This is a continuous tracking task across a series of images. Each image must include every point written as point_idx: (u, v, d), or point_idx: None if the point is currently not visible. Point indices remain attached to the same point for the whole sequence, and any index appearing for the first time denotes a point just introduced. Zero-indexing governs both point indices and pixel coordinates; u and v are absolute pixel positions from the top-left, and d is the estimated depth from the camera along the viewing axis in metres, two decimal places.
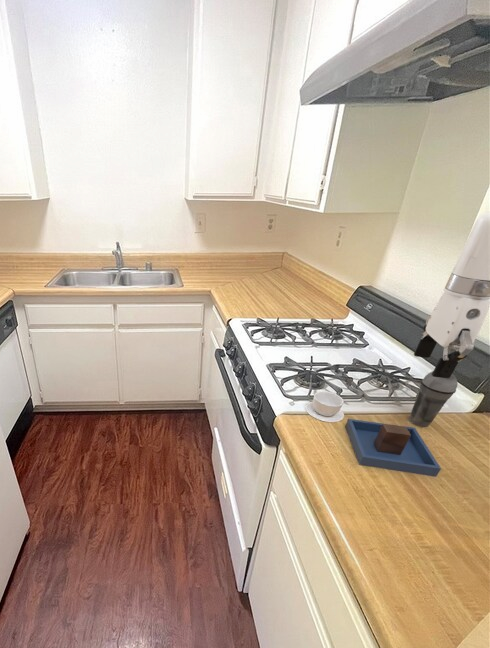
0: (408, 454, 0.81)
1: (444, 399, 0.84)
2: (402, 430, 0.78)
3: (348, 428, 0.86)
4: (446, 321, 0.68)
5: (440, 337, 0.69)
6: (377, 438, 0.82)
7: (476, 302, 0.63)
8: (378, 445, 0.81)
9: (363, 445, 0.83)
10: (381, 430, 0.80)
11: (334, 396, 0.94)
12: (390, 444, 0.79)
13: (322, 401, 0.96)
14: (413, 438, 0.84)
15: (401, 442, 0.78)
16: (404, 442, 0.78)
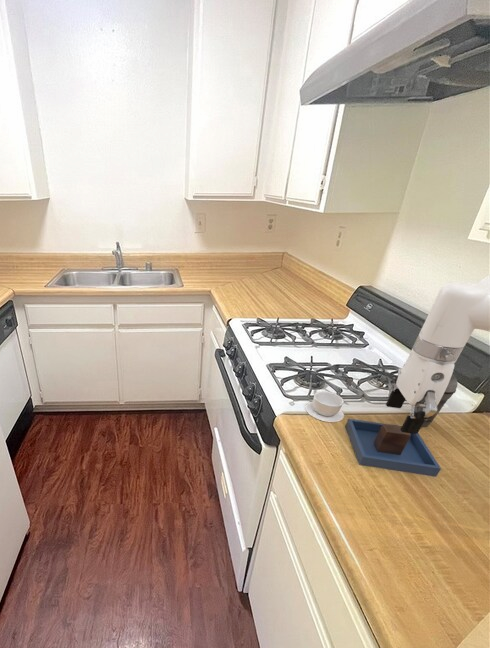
0: (408, 454, 0.81)
1: (444, 399, 0.84)
2: None
3: (348, 428, 0.86)
4: (413, 381, 0.70)
5: (408, 395, 0.71)
6: (377, 438, 0.82)
7: (440, 366, 0.65)
8: (378, 445, 0.81)
9: (363, 445, 0.83)
10: (381, 430, 0.80)
11: (334, 396, 0.94)
12: (390, 444, 0.79)
13: (322, 401, 0.96)
14: (413, 438, 0.84)
15: (401, 442, 0.78)
16: (404, 442, 0.78)
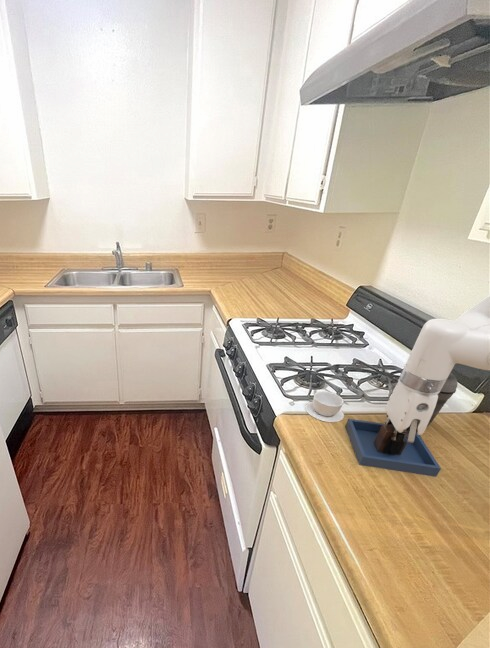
0: (408, 454, 0.81)
1: (444, 399, 0.84)
2: None
3: (348, 428, 0.86)
4: (400, 409, 0.73)
5: (395, 422, 0.75)
6: (377, 438, 0.82)
7: (425, 397, 0.69)
8: (378, 445, 0.81)
9: (363, 445, 0.83)
10: (381, 430, 0.80)
11: (334, 396, 0.94)
12: None
13: (322, 401, 0.96)
14: None
15: None
16: None
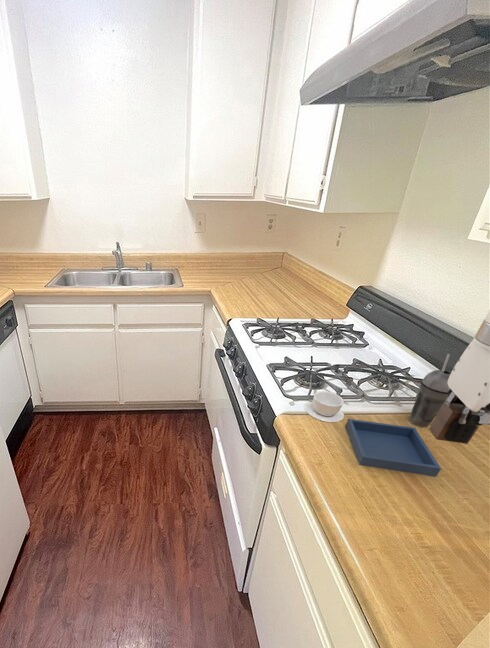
0: (408, 454, 0.81)
1: (444, 399, 0.84)
2: None
3: (348, 428, 0.86)
4: (476, 380, 0.54)
5: (468, 398, 0.55)
6: (435, 422, 0.62)
7: None
8: (438, 431, 0.61)
9: (363, 445, 0.83)
10: (442, 411, 0.61)
11: (334, 396, 0.94)
12: None
13: (322, 401, 0.96)
14: (413, 438, 0.84)
15: None
16: None
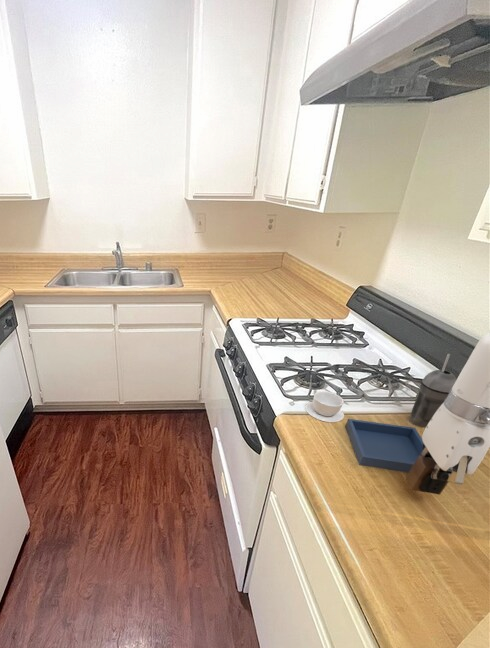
0: (408, 454, 0.81)
1: (444, 399, 0.84)
2: None
3: (348, 428, 0.86)
4: (445, 442, 0.59)
5: (438, 457, 0.61)
6: (411, 473, 0.68)
7: (480, 429, 0.55)
8: (413, 482, 0.66)
9: (363, 445, 0.83)
10: (416, 464, 0.66)
11: (334, 396, 0.94)
12: None
13: (322, 401, 0.96)
14: (413, 438, 0.84)
15: None
16: None
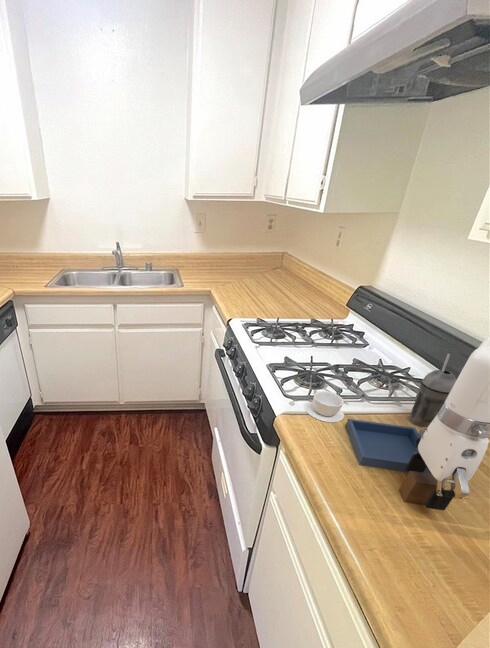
0: (408, 454, 0.81)
1: (444, 399, 0.84)
2: (434, 480, 0.66)
3: (348, 428, 0.86)
4: (439, 453, 0.61)
5: (433, 468, 0.62)
6: (403, 487, 0.70)
7: (472, 442, 0.56)
8: (404, 496, 0.69)
9: (363, 445, 0.83)
10: (408, 478, 0.68)
11: (334, 396, 0.94)
12: (419, 496, 0.67)
13: (322, 401, 0.96)
14: (413, 438, 0.84)
15: None
16: None
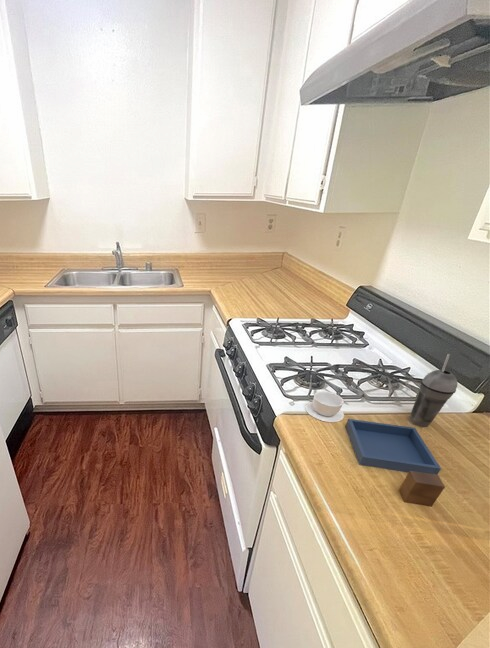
0: (408, 454, 0.81)
1: (444, 399, 0.84)
2: (434, 480, 0.66)
3: (348, 428, 0.86)
4: None
5: None
6: (403, 487, 0.70)
7: None
8: (404, 496, 0.69)
9: (363, 445, 0.83)
10: (408, 478, 0.68)
11: (334, 396, 0.94)
12: (419, 496, 0.67)
13: (322, 401, 0.96)
14: (413, 438, 0.84)
15: (432, 494, 0.66)
16: (436, 494, 0.66)
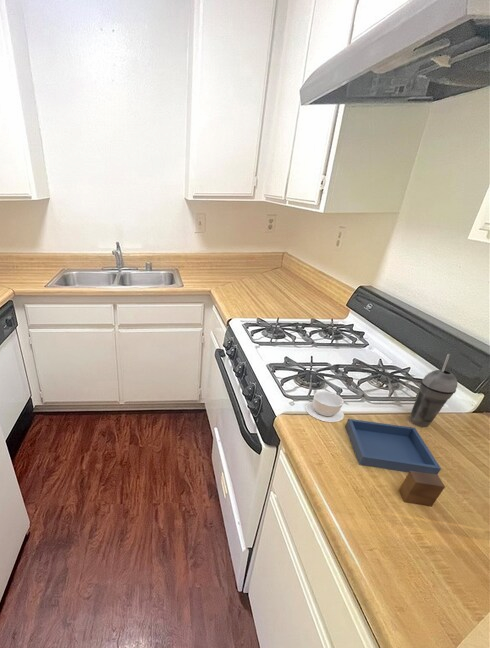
0: (408, 454, 0.81)
1: (444, 399, 0.84)
2: (434, 480, 0.66)
3: (348, 428, 0.86)
4: None
5: None
6: (403, 487, 0.70)
7: None
8: (404, 496, 0.69)
9: (363, 445, 0.83)
10: (408, 478, 0.68)
11: (334, 396, 0.94)
12: (419, 496, 0.67)
13: (322, 401, 0.96)
14: (413, 438, 0.84)
15: (432, 494, 0.66)
16: (436, 494, 0.66)
